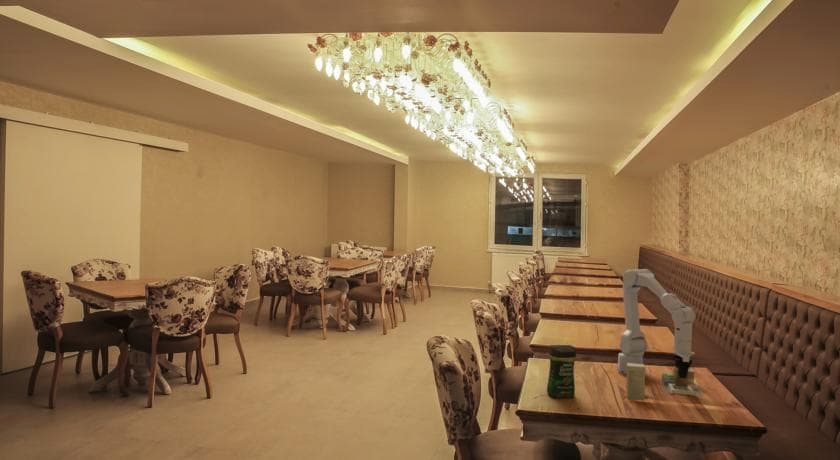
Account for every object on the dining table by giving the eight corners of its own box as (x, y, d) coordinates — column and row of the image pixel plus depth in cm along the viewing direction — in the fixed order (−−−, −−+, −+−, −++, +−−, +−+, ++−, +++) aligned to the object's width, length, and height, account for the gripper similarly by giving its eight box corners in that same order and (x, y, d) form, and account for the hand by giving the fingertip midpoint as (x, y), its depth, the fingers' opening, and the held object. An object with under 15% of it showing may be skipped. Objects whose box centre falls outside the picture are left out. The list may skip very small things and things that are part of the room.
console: (663, 384, 210) (664, 376, 210) (661, 380, 215) (662, 373, 215) (677, 386, 209) (678, 378, 209) (675, 381, 214) (675, 374, 214)
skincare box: (644, 397, 200) (645, 364, 199) (644, 401, 196) (646, 367, 195) (625, 394, 202) (626, 362, 201) (625, 398, 198) (626, 365, 197)
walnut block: (675, 386, 202) (676, 370, 202) (673, 382, 206) (674, 367, 206) (687, 387, 201) (688, 371, 201) (685, 383, 205) (685, 368, 205)
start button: (666, 382, 211) (667, 375, 211) (665, 379, 214) (665, 373, 214) (674, 382, 211) (674, 376, 210) (672, 380, 213) (673, 374, 213)
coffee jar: (552, 399, 195) (553, 348, 194) (544, 392, 203) (545, 342, 202) (578, 398, 197) (579, 347, 196) (569, 391, 204) (570, 342, 204)
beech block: (682, 386, 209) (682, 370, 208) (680, 383, 213) (680, 367, 212) (693, 387, 208) (694, 371, 207) (691, 384, 212) (692, 368, 211)
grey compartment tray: (667, 395, 201) (668, 389, 201) (661, 383, 216) (661, 377, 216) (703, 399, 198) (704, 393, 198) (694, 386, 213) (695, 380, 213)
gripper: (699, 345, 195) (697, 383, 196) (690, 336, 209) (689, 371, 209) (677, 343, 197) (676, 380, 197) (670, 334, 211) (669, 369, 211)
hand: (681, 375), depth 204 cm, fingers closed on walnut block, 4 cm apart
